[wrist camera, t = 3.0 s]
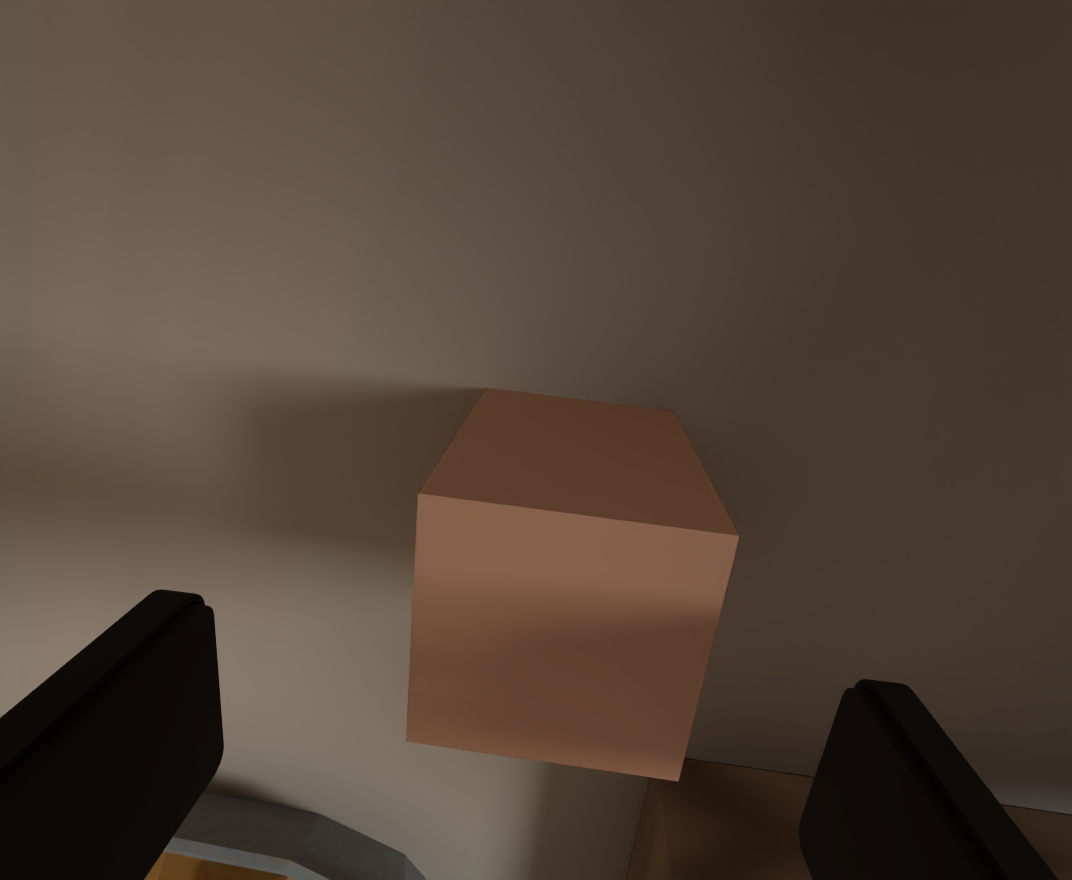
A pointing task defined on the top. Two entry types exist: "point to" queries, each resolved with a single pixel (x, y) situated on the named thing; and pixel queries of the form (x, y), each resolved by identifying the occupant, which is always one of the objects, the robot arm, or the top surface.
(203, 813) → the pie
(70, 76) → the top surface
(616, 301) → the top surface
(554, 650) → the terracotta block
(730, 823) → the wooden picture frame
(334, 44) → the top surface
